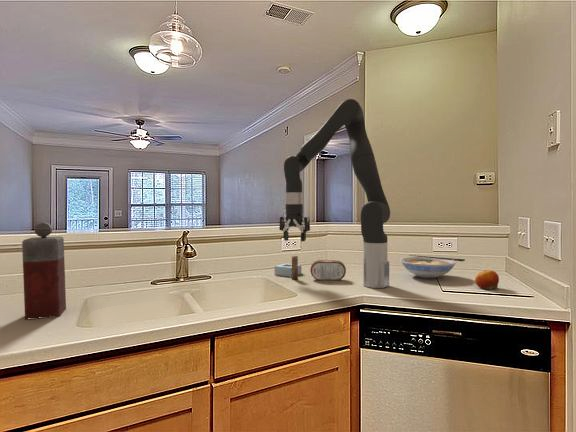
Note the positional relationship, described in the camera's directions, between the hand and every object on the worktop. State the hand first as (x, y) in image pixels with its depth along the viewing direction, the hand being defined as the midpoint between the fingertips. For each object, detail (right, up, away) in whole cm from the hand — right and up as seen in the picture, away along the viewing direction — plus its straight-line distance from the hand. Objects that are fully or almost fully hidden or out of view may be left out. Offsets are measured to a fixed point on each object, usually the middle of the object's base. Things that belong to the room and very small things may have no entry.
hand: (294, 240), depth 159 cm
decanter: (-77, -19, -45) cm, 91 cm away
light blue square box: (-3, -16, +12) cm, 21 cm away
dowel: (0, -17, +1) cm, 17 cm away
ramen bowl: (+58, -16, +2) cm, 60 cm away
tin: (+14, -17, -2) cm, 22 cm away
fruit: (+72, -17, -20) cm, 77 cm away
